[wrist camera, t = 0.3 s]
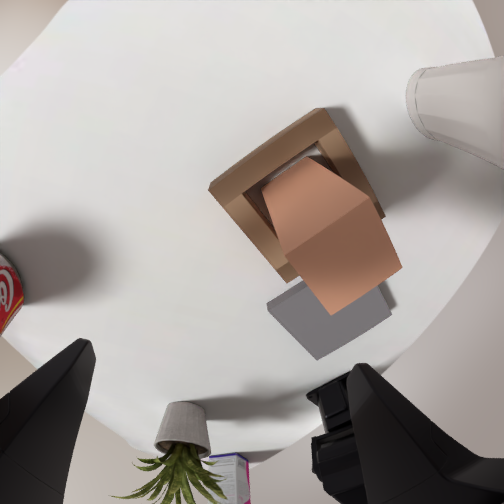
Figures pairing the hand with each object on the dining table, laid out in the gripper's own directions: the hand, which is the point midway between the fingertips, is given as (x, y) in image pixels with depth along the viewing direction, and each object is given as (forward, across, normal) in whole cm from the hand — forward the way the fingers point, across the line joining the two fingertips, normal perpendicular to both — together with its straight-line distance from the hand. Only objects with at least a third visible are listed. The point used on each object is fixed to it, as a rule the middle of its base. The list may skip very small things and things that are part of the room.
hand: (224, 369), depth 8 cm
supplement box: (+14, -5, +46) cm, 49 cm away
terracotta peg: (+14, -5, -2) cm, 15 cm away
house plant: (+14, +4, +28) cm, 32 cm away
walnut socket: (+14, -5, -2) cm, 15 cm away
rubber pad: (+14, -10, +7) cm, 19 cm away
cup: (+14, -15, -13) cm, 24 cm away
